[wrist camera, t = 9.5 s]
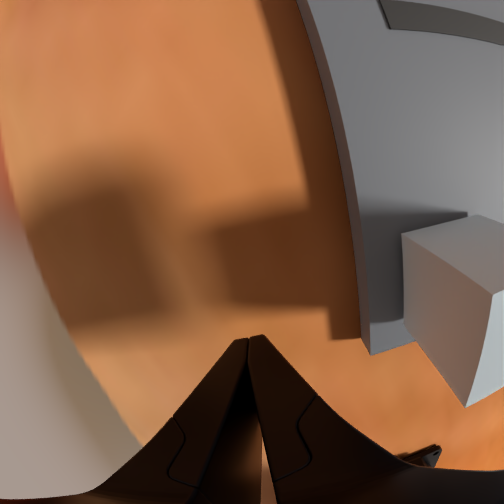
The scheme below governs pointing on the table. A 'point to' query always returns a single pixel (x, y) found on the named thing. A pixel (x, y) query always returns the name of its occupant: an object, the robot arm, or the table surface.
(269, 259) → the table surface
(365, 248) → the console
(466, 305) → the block
